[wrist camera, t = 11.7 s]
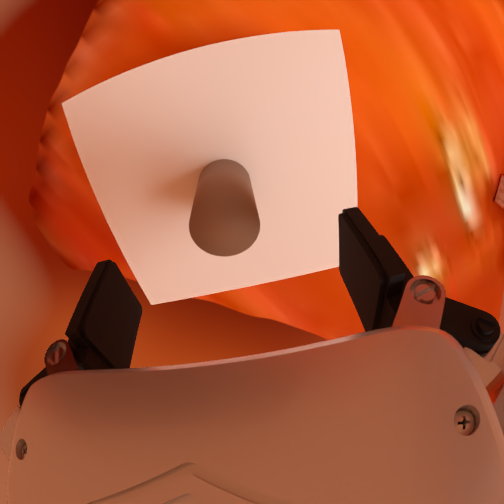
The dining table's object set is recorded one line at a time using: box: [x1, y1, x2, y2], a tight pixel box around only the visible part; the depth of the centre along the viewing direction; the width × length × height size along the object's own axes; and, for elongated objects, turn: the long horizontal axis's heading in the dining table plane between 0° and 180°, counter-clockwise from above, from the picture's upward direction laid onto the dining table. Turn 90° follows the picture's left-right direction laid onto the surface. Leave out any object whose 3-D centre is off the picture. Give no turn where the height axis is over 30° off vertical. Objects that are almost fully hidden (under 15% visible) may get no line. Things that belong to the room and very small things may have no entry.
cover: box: [62, 30, 357, 305], centre depth 21 cm, size 19×19×18 cm
